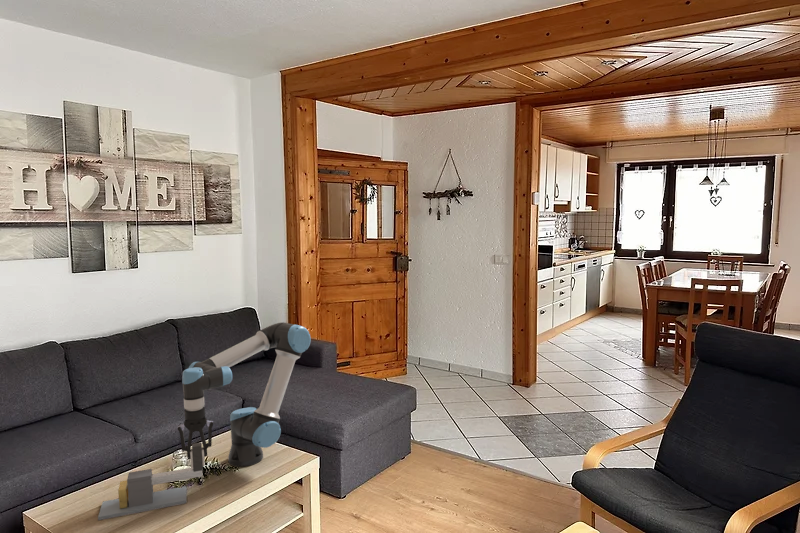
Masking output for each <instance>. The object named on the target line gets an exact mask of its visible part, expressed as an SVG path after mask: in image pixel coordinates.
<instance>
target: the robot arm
mask: <svg viewBox="0 0 800 533" xmlns="http://www.w3.org/2000/svg"><path fill="white" fill-rule="evenodd" d="M311 339H312V338H311V333H310V331H309V330H308V329H307V328H306V327H305V326H302V325H298V324H293V323H289V322H284V321H283V322H277V323H273V324H271V325H268V326H266V327H264V328H262V329H260V330H258V331H257V332H256V333H255V334H254V335H253V336H251V337H249V338H246V339H245V340H243V341H241V342H239V343H237V344H235V345H233V346H230V347H229V348H227V349H225V350H223V351H221V352H219V353H217V354H214V355H213V356H211V357H209V358H207V359H205V360H203V361H194V362H192V363H191V364H190V365H189V366H188V368H186V369H184V370H183V371H182V377H181V379H182V380H181V382H182V390H183V391H182V392H183V409H184V421H183V423H182V424H179V425H177V431H178V432H179V436H180V445H181V446H180V447H181V451H183V452H186V455H187V456H186V457H187V459H188V460H190V468H193V455H192V439H193V433H194V432H198V433H199V436H200V439H201V444H202V461H203V467H205V465H206V463H205V460H206V459H205V458H206V457H207V456H208V448H211V447H212V443H213V442H212V439H213V438H212V436H213V435H212V433H213V432H212V431H213V430H212V429H213V426H214V421H213V420H211V419H210V420H208V419H207V417H206V407H205V391H208V390H212V389H216V388H219V387H220V388H221V387H224V386H227V385H230V384H231V383H232V381H233V372H232V370H231V367H233V366H235V365H237V364H238V363H241V362H242V361H244V360H246V359H248V358H250V357H252V356H253V355H256V354H258V353H260V352H261V351H268V350H270V349H273V348H275V349H274V350H275V353H276V357H275V361H274V364H273V367H272V369H271V372H270V375H269V378H268V380H267V384H266V387H265V390H264V392H263V395H262V397H261V401H260V404H259V407H257V408H256V407H253V406H249V407H243V408H237V409H235V410H233V411H232V412H231V413H230V416H229V422H230V437H231V438H230V439H231V446H230V448H229V453H228V457H227V458H228V464H229V465H231V466H234V467H249V466H253V465H255V464H258V463H259V462H261V461H262V460H264V452H263V449H262V448H264V449H265V448H270V447H272V446H273V445H275V444H276V442H278V440H279V439H280V436H281V435H282V434H281V433H282V429H281V425H280V423H279V422H280V420H281V417H280V415H279V414H280V413H279V411H280V409H281V407H282V406H281V405H282V403H283V400H284V396H285V394H286V391H287V388H288V384H289V382H290V379H291V375H292V372H293V370H294V367H295V363H296V361H297V360H298V359H300V358H301V356H302V354H303V353H304V352H306V351H307V350H308V349H309V347H310V345H311V341H312V340H311ZM205 425H207V427H208V428H207V429H208V431H207V440H206V438H205V434H204V429H203V428H204V427H205ZM185 428H186V429H187V430H188V440H187V445H186V443H185V440H186V439H185V432H184V430H185Z"/></svg>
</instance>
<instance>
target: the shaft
mask: <svg viewBox="0 0 800 533" xmlns="http://www.w3.org/2000/svg"><path fill="white" fill-rule="evenodd" d="M202 447H203V444H202V441H201V442H195V443H191V449H192V455H193V468H191V467H186V468H181V469H180V468H179V469H175V470H170V471H169V470H168V471H163V472H158V473H152V474H151V484H152V485H153V486H156V485H160V484H166V483H172V482H173V483H174V482H176V481H183V480H188V479H194V478H200V477H203V475H204V474H203V471H204V466H203V461H202Z"/></svg>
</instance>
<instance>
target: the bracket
mask: <svg viewBox="0 0 800 533" xmlns="http://www.w3.org/2000/svg"><path fill="white" fill-rule="evenodd" d="M152 470H153V468H147V469H142V470H136V471H130V472H128V474H127V479H126V480H127V484H128V499H129V501H128V506H127V507H126V508H121V509H120V506H119V498H115V499H110V500H105V501H102V504H101V506H100V510H99V513H98V515H97V521H100V520H101V521H102V520H108V519H113V518H118V517H121V516H127V515H132V514H137V513H142V512H148V511H153V510H158V509H164V508H169V507H173V506H178V505H180V506H181V505H184V504H187V489H188V488H187V485H184V486H181V487H182V488H179V487H174V488H169V489H164V490H158V491H154V485H152V484H151V474H153V471H152Z"/></svg>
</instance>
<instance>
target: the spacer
mask: <svg viewBox="0 0 800 533" xmlns="http://www.w3.org/2000/svg"><path fill="white" fill-rule="evenodd" d="M117 489H118V490H117V491H118V492H117V493H118V499H119V506H120V509H121V508H126V507H127V506H128V501H129V499H128V484H127V479H126V480H122V481H121V480H120V483H119V486H118V488H117Z"/></svg>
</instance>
